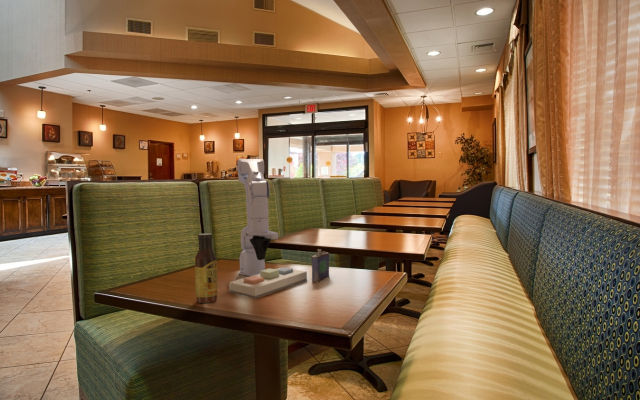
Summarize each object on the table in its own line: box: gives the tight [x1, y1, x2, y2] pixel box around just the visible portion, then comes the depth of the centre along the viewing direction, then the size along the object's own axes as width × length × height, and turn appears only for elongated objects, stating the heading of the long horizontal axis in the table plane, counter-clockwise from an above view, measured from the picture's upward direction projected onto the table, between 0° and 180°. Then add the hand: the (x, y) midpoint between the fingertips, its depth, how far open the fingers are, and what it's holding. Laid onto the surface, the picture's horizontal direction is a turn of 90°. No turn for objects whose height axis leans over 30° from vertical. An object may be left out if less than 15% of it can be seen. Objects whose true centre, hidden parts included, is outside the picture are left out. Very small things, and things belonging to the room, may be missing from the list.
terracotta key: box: [244, 276, 264, 285], centre depth 117 cm, size 4×4×3 cm
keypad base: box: [228, 266, 308, 299], centre depth 123 cm, size 12×24×3 cm, turn 142°
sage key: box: [260, 267, 279, 279], centre depth 122 cm, size 4×4×3 cm
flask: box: [311, 248, 330, 283], centre depth 130 cm, size 9×3×11 cm, turn 146°
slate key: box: [275, 266, 294, 275], centre depth 128 cm, size 4×4×3 cm
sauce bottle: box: [194, 233, 219, 304], centre depth 109 cm, size 7×6×20 cm
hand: (261, 259), depth 120 cm, fingers closed
